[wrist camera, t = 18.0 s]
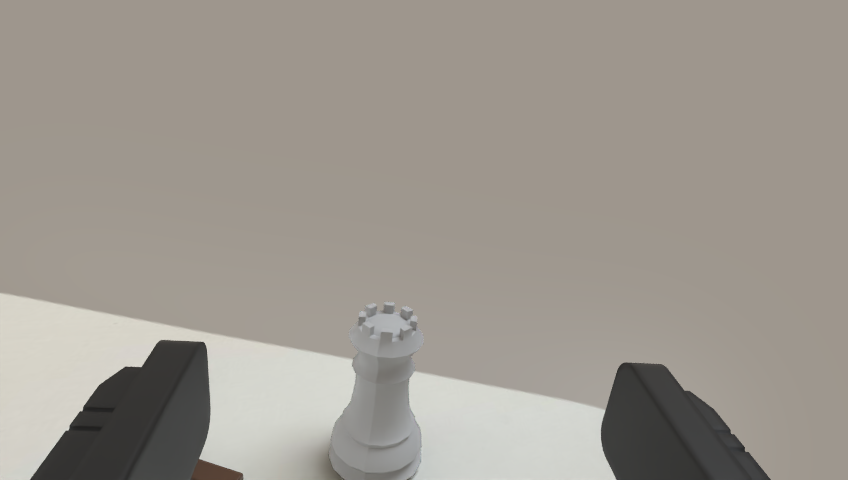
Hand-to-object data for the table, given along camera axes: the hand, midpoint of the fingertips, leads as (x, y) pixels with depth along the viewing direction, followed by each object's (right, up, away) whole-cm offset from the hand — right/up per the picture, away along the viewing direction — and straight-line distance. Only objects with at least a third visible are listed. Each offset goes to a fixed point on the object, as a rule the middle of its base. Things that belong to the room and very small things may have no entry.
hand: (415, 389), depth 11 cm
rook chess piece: (-2, -8, +16) cm, 18 cm away
